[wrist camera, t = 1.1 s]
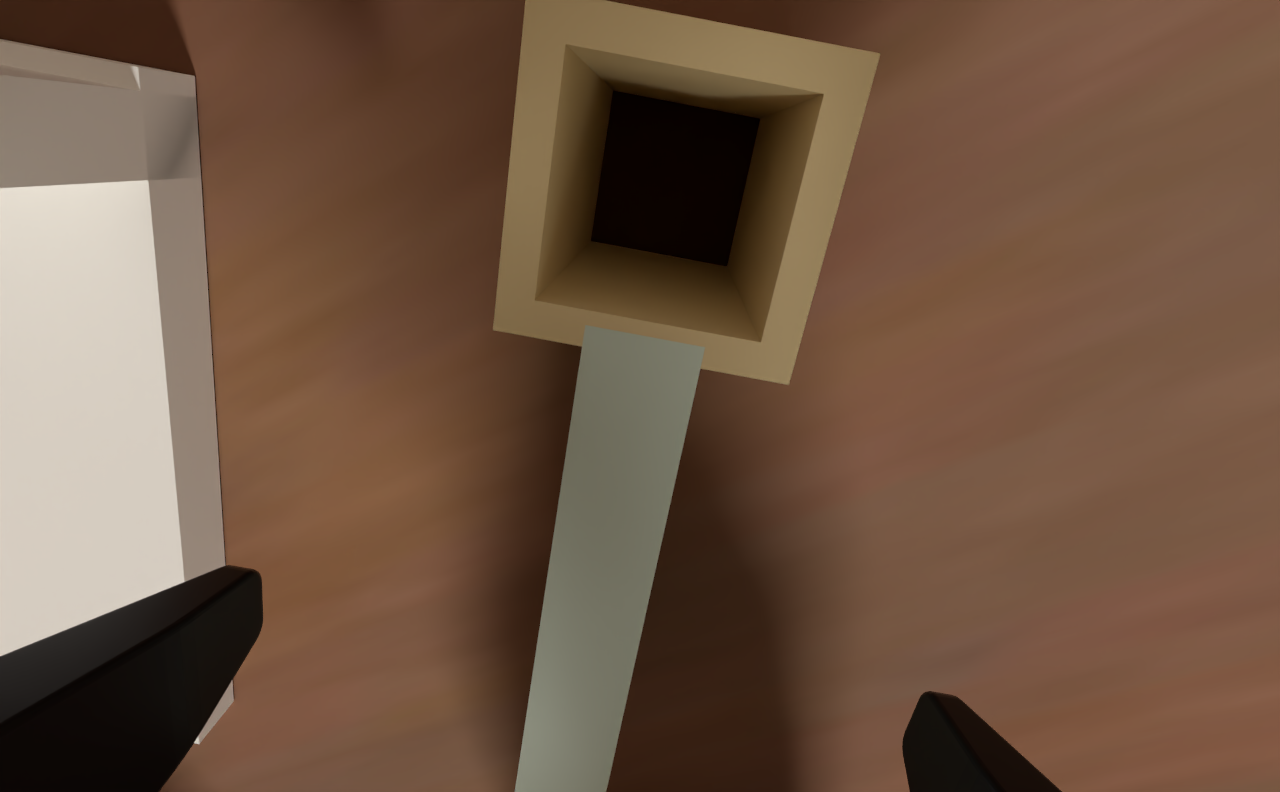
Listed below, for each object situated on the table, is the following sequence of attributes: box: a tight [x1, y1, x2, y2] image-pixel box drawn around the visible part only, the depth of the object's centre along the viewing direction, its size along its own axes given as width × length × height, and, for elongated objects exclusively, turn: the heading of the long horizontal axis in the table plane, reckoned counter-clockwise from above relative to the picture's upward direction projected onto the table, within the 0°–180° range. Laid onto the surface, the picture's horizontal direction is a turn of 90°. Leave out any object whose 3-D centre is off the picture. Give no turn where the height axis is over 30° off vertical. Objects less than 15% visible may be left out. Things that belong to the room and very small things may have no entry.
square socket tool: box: [493, 0, 880, 792], centre depth 12 cm, size 14×4×6 cm, turn 170°
